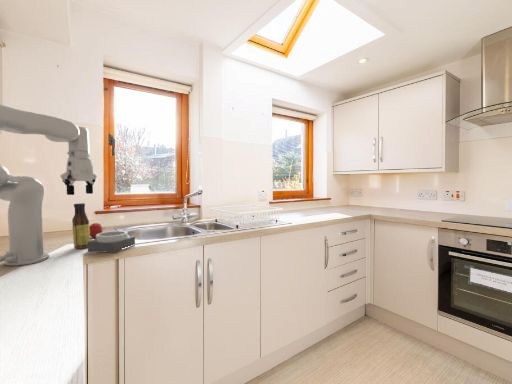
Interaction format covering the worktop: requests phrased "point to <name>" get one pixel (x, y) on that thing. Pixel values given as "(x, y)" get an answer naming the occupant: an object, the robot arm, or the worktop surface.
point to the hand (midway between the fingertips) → (80, 194)
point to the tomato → (95, 229)
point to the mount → (111, 241)
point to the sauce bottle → (80, 227)
